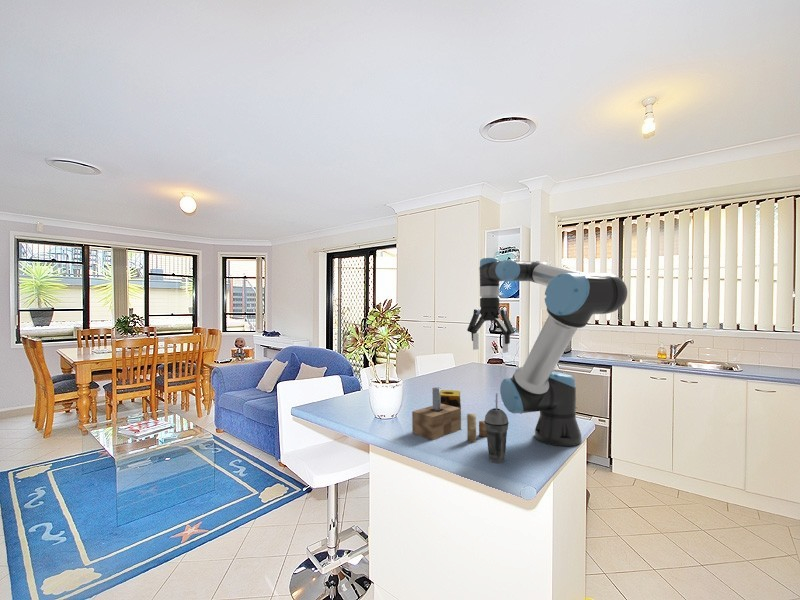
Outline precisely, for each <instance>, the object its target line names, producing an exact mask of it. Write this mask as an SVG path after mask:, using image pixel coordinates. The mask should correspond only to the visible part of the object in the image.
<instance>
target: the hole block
mask: <svg viewBox="0 0 800 600" xmlns="http://www.w3.org/2000/svg"><path fill="white" fill-rule="evenodd" d="M411 413H412V414H411V415H412V417H411V419H412V425H411V426H412V432H411V433H412V434H414V435H416V436H420V437H423V438H426V439H429V440H431V441H434V440H438V439H439V438H442V437H445V436H447V435H450V434H452V433H456V432H458V431H460V430H462V407H461V408H458V407H454V406H450V405H445V404H441V411H440V412H435V411H433V405H429V406H427V407H423V408H419V409H416V410H413V411H412V412H411Z"/></svg>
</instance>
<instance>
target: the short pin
mask: <svg viewBox="0 0 800 600" xmlns="http://www.w3.org/2000/svg"><path fill="white" fill-rule="evenodd" d="M484 421H485V420H479V421H478V436H479V437H480V438H487V432H486V427H485V422H484Z"/></svg>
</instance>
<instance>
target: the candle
mask: <svg viewBox="0 0 800 600" xmlns="http://www.w3.org/2000/svg"><path fill="white" fill-rule="evenodd" d="M441 404H445V405H450V406H454V407H458V408H461V409H462V404H461V390H454V389H452V390H451V389H450V390H449V389H447V390H444V389H443V390H442V389H441Z"/></svg>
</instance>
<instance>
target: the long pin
mask: <svg viewBox="0 0 800 600" xmlns="http://www.w3.org/2000/svg"><path fill="white" fill-rule="evenodd" d="M441 390H442V389H441V388H440V387H432V406H433V411H435V412H440V411H441Z"/></svg>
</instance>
